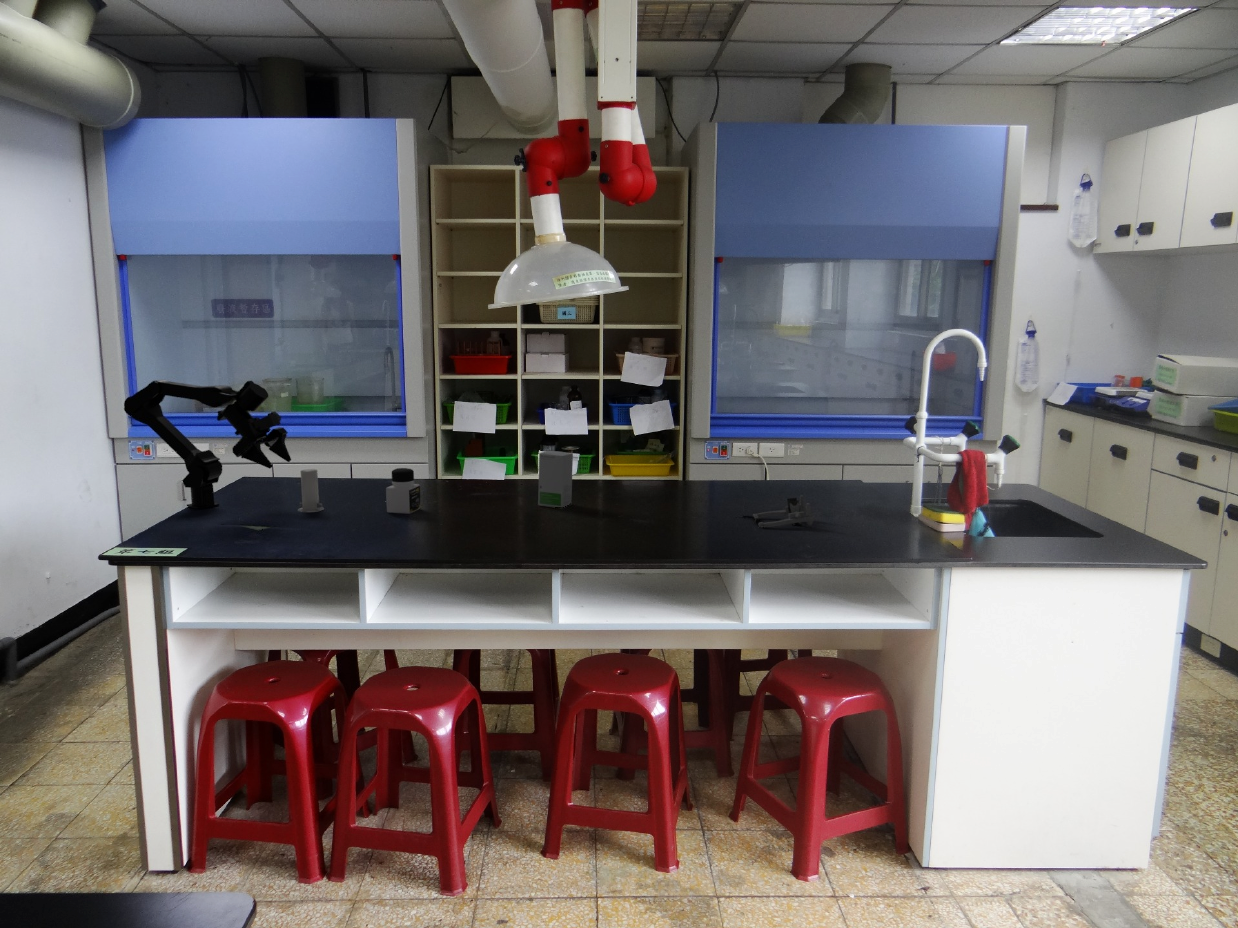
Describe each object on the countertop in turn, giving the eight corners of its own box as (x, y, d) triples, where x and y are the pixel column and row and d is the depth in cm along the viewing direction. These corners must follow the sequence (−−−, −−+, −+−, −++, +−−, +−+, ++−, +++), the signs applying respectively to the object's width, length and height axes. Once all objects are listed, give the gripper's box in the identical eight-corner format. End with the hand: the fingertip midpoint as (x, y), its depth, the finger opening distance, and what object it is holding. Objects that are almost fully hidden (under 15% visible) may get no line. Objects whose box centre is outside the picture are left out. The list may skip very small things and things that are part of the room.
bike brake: (807, 515, 242) (736, 525, 243) (805, 491, 241) (733, 501, 242) (817, 528, 229) (741, 538, 230) (814, 503, 228) (738, 513, 229)
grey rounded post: (296, 510, 243) (294, 471, 241) (304, 507, 247) (302, 468, 246) (317, 511, 242) (315, 472, 240) (325, 508, 246) (323, 469, 245)
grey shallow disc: (292, 513, 242) (292, 511, 242) (305, 508, 249) (305, 506, 249) (316, 514, 241) (316, 512, 241) (328, 509, 248) (328, 507, 248)
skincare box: (537, 506, 254) (537, 453, 252) (547, 501, 260) (547, 450, 258) (563, 508, 251) (563, 455, 248) (573, 504, 257) (573, 451, 254)
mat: (230, 523, 230) (230, 522, 230) (271, 515, 240) (271, 514, 240) (258, 530, 223) (258, 529, 223) (298, 521, 233) (298, 520, 233)
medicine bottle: (410, 514, 243) (408, 471, 241) (386, 512, 244) (384, 470, 242) (421, 508, 250) (419, 467, 248) (397, 507, 251) (396, 466, 249)
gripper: (240, 407, 232) (279, 451, 233) (280, 399, 250) (316, 440, 251) (215, 434, 235) (254, 478, 236) (256, 424, 253) (292, 464, 254)
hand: (280, 464), depth 244 cm, fingers open, 9 cm apart
